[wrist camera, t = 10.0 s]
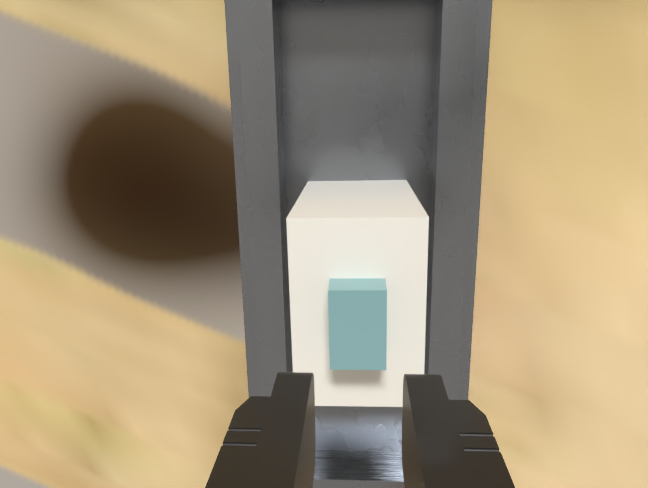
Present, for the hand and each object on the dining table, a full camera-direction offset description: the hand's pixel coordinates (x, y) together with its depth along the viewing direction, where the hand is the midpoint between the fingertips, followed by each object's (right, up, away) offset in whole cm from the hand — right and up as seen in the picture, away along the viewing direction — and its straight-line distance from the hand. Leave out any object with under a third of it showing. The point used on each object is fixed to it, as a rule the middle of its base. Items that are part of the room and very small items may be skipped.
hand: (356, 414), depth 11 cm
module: (+1, +3, +12) cm, 12 cm away
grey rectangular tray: (+1, +3, +13) cm, 13 cm away
